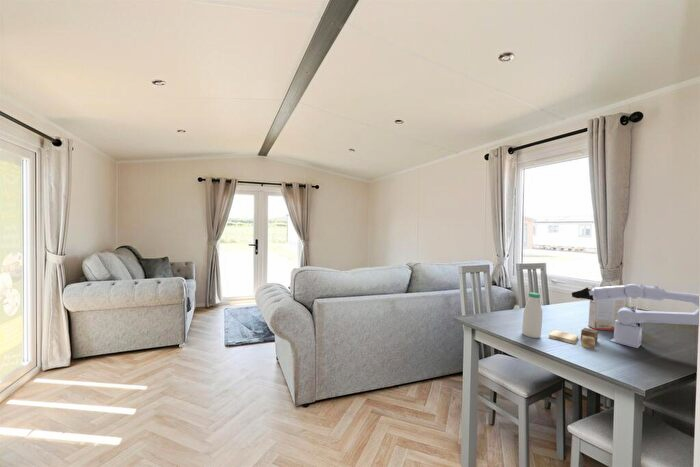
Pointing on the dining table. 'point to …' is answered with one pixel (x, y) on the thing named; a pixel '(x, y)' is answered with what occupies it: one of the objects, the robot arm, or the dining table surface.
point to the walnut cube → (589, 333)
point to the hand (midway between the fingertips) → (573, 295)
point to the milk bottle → (532, 317)
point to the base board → (563, 336)
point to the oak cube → (588, 342)
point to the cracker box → (604, 312)
